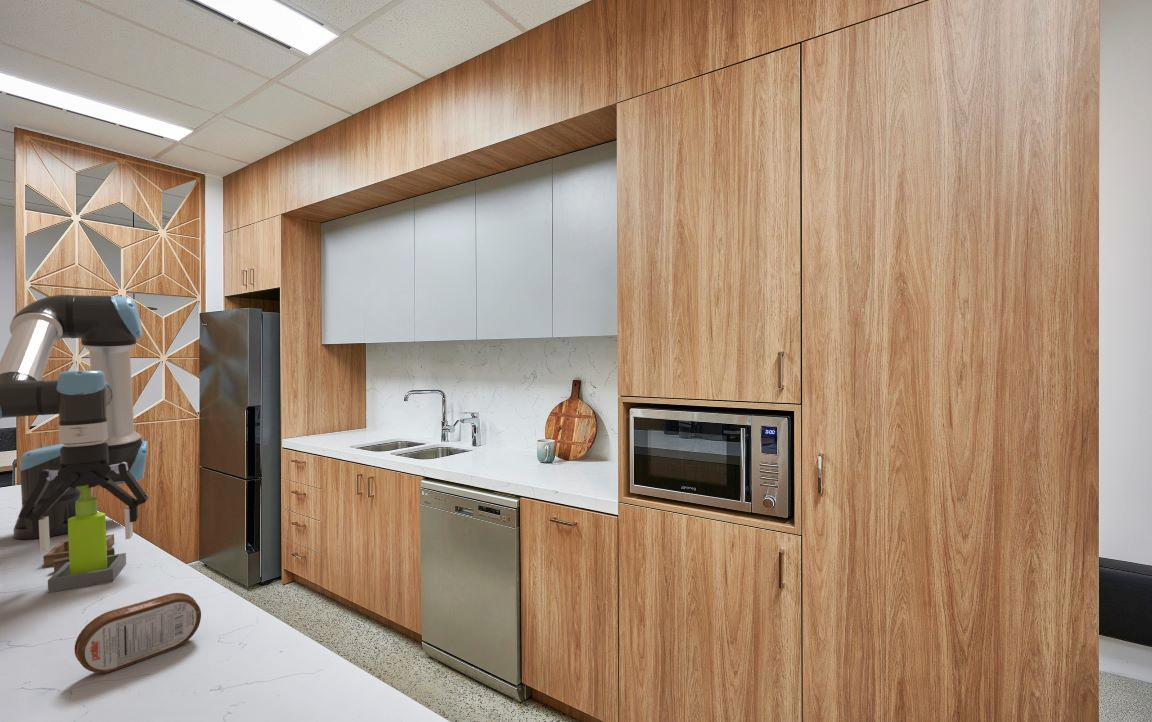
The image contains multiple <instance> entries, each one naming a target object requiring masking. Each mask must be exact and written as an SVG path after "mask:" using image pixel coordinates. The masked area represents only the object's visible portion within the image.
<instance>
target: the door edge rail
mask: <svg viewBox="0 0 1152 722" xmlns="http://www.w3.org/2000/svg"><path fill="white" fill-rule="evenodd" d="M115 554H116V553H115V548H114V547H113V546H112V547H111V548H108V549H107V556H109V555H115ZM66 562H69V557H65V558H61V559H56V560H54V566H53V573H54V574H55V573H56V572H57V571H58V570H59V569H60V568H61V567H62V566H63V565H64V564H65V563H66ZM54 574H53V575H54Z"/></svg>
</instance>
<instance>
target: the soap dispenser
mask: <svg viewBox="0 0 1152 722" xmlns="http://www.w3.org/2000/svg"><path fill="white" fill-rule="evenodd" d="M88 487H89V486H88V485H82V486H76V487H75V489H80V495H81V499H78V500H77V501H76V502H75V508H76V516H74V517H71V518H69V519H68V533H67V535H68V536H67V537H68V541H69V563H70V575H73V574H79V573H85V572H91V571H97V570H103V569H108V568H107V544H106V535H107V527H106V526H107V523H106V520H107V519H106V512H99V511H98V500H97V499H98V498H97V497H94V496H92V487H91V488H88Z"/></svg>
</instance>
